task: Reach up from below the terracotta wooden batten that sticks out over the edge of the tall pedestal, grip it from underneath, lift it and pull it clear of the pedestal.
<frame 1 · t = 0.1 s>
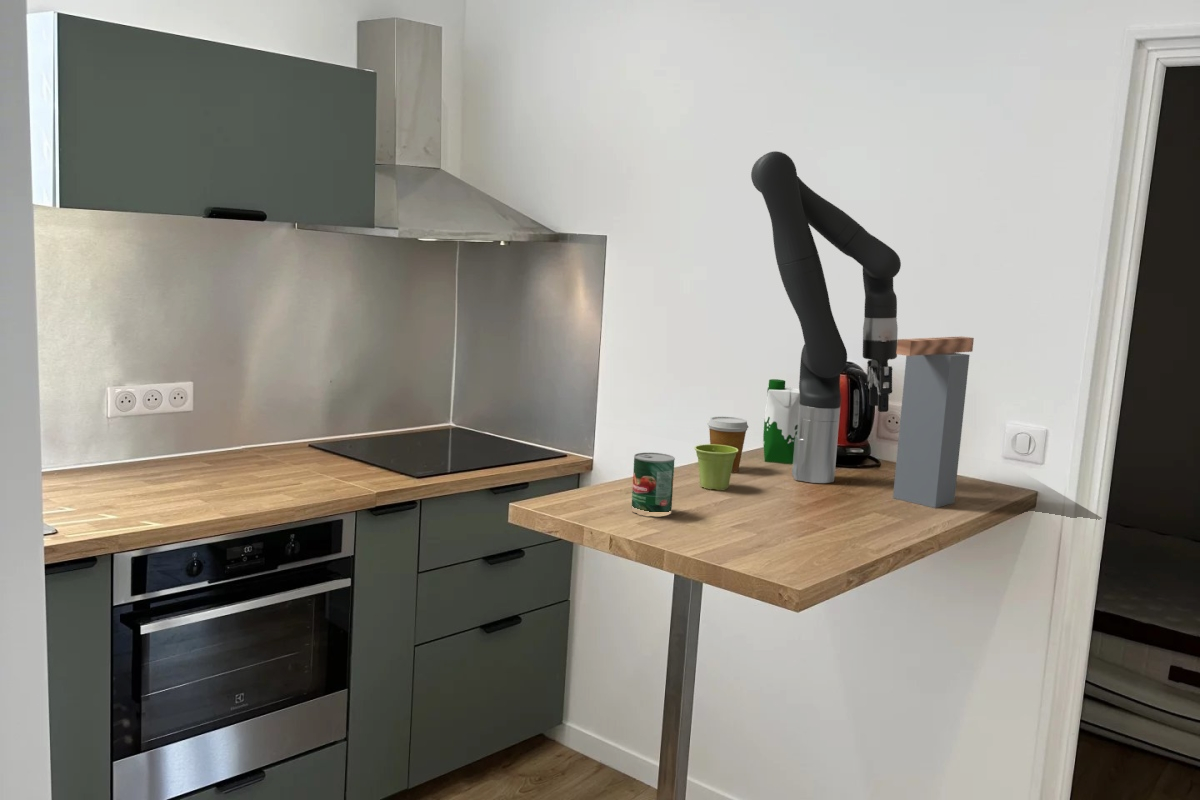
hand: (878, 408, 235), 17 cm above the table, tool pointing down, fingers open, 8 cm apart
plant pot: (713, 488, 225), on the table
disposable coffee cup: (724, 470, 244), on the table
canned tomato: (651, 512, 202), on the table
pedestal: (923, 500, 223), on the table
milk carton: (779, 461, 258), on the table
batten: (935, 352, 217), point 32 cm above the table, touching pedestal
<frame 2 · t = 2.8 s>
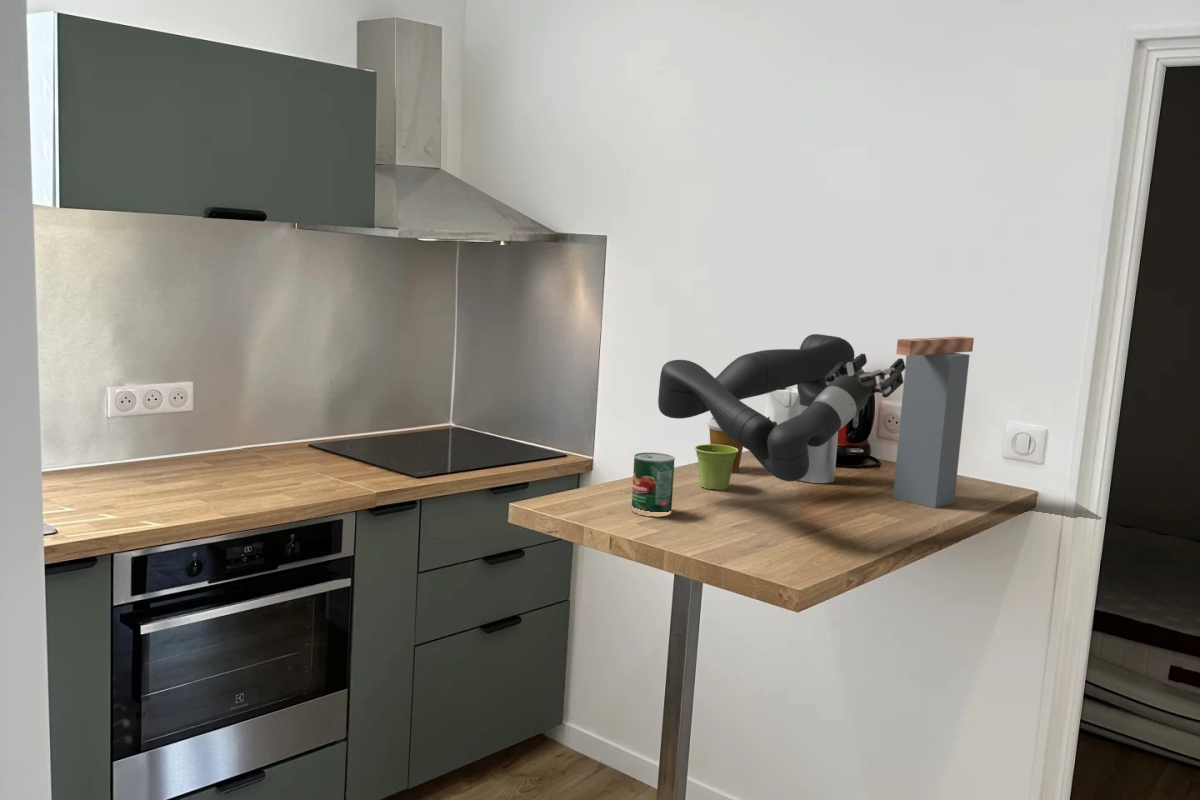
hand: (883, 359, 204), 31 cm above the table, tool pointing upward, fingers open, 8 cm apart
nothing on the table moved.
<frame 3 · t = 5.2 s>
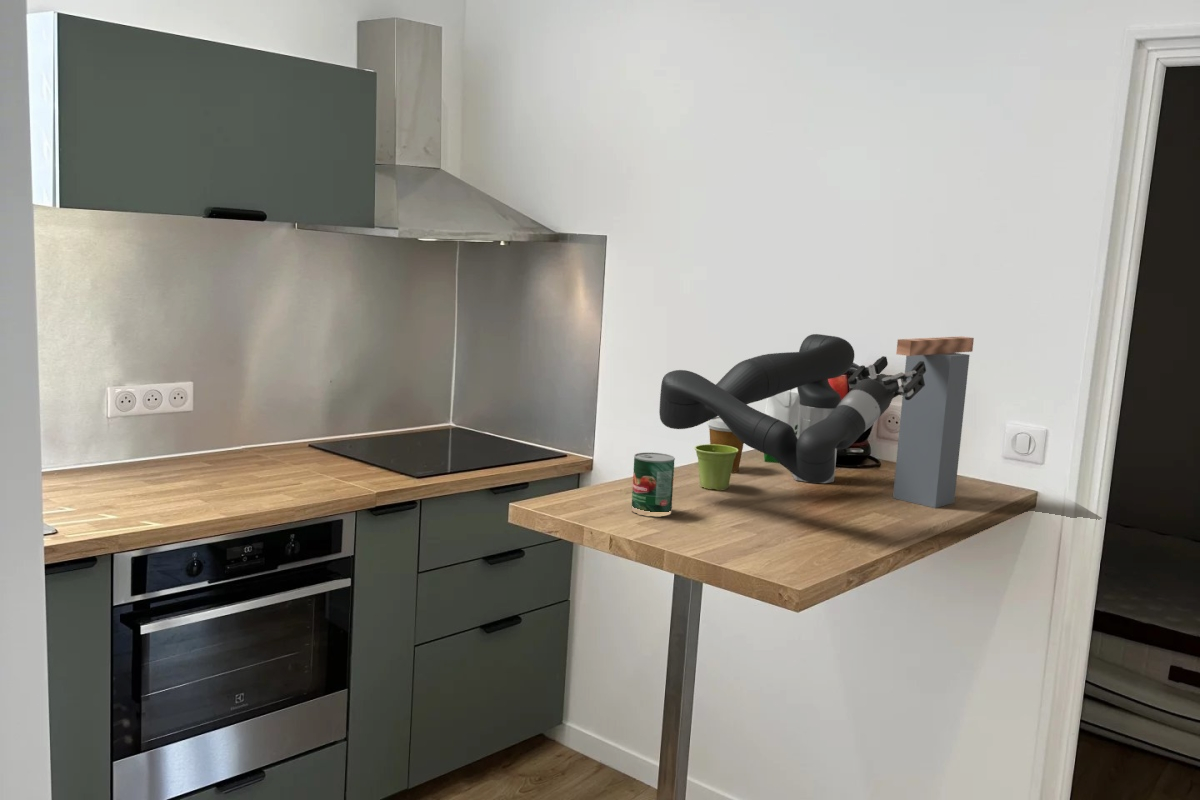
hand: (904, 362, 209), 30 cm above the table, tool pointing upward, fingers open, 8 cm apart
nothing on the table moved.
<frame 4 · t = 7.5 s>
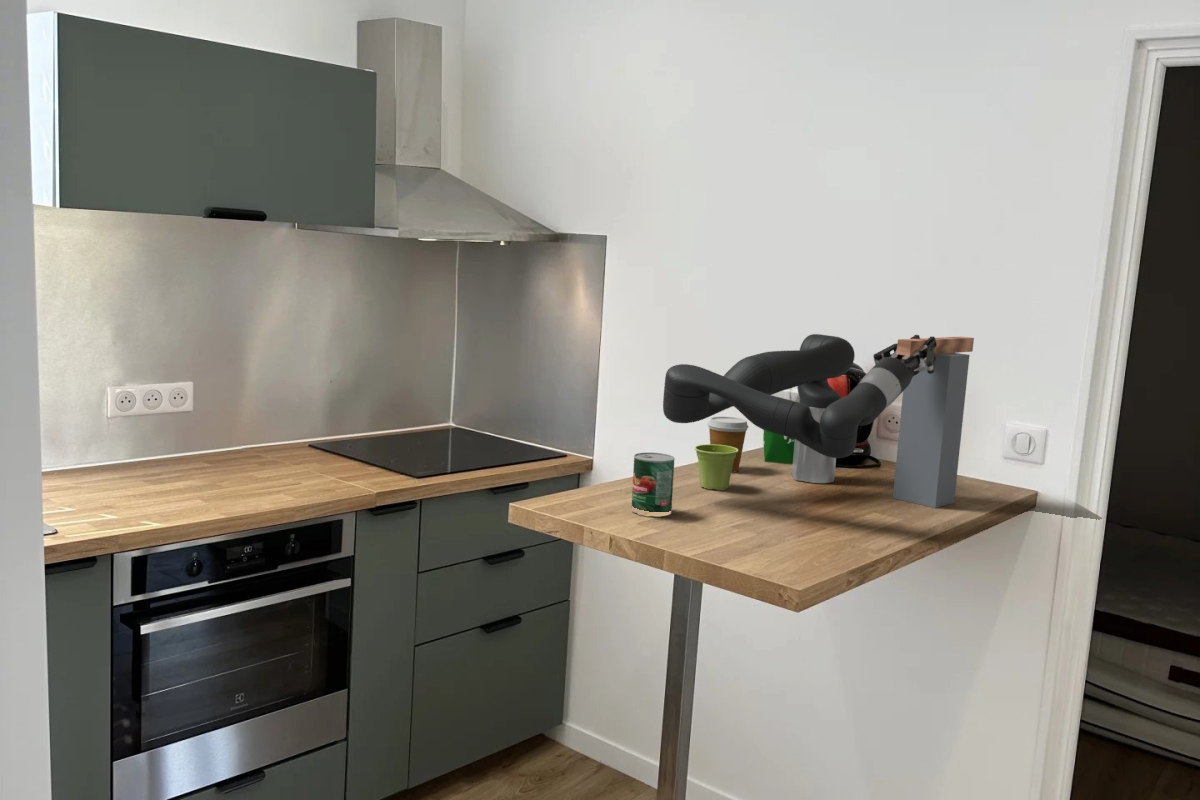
hand: (925, 339, 214), 35 cm above the table, tool pointing upward, fingers closed on batten, 3 cm apart
batten: (935, 352, 217), point 32 cm above the table, touching gripper, pedestal
everything else where it was.
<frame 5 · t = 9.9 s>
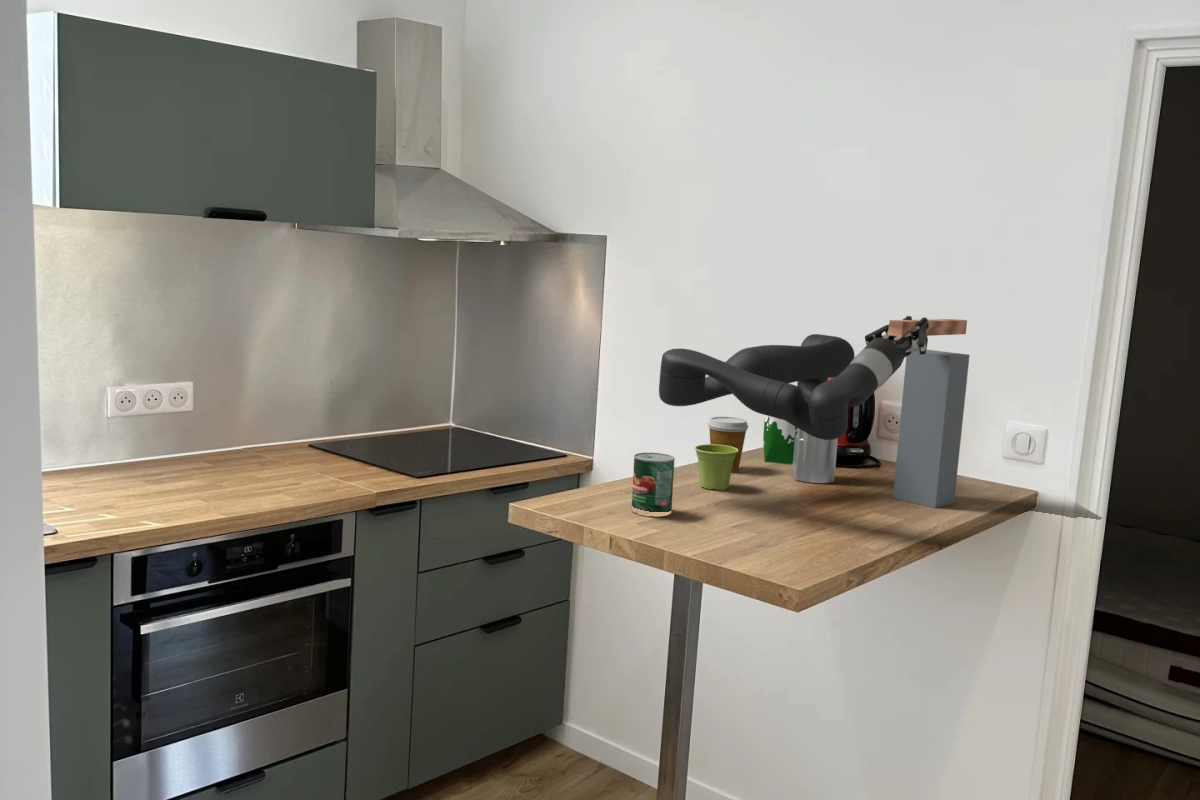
hand: (918, 320, 210), 39 cm above the table, tool pointing upward, fingers closed on batten, 3 cm apart
batten: (928, 334, 214), point 36 cm above the table, touching gripper
everything else where it was.
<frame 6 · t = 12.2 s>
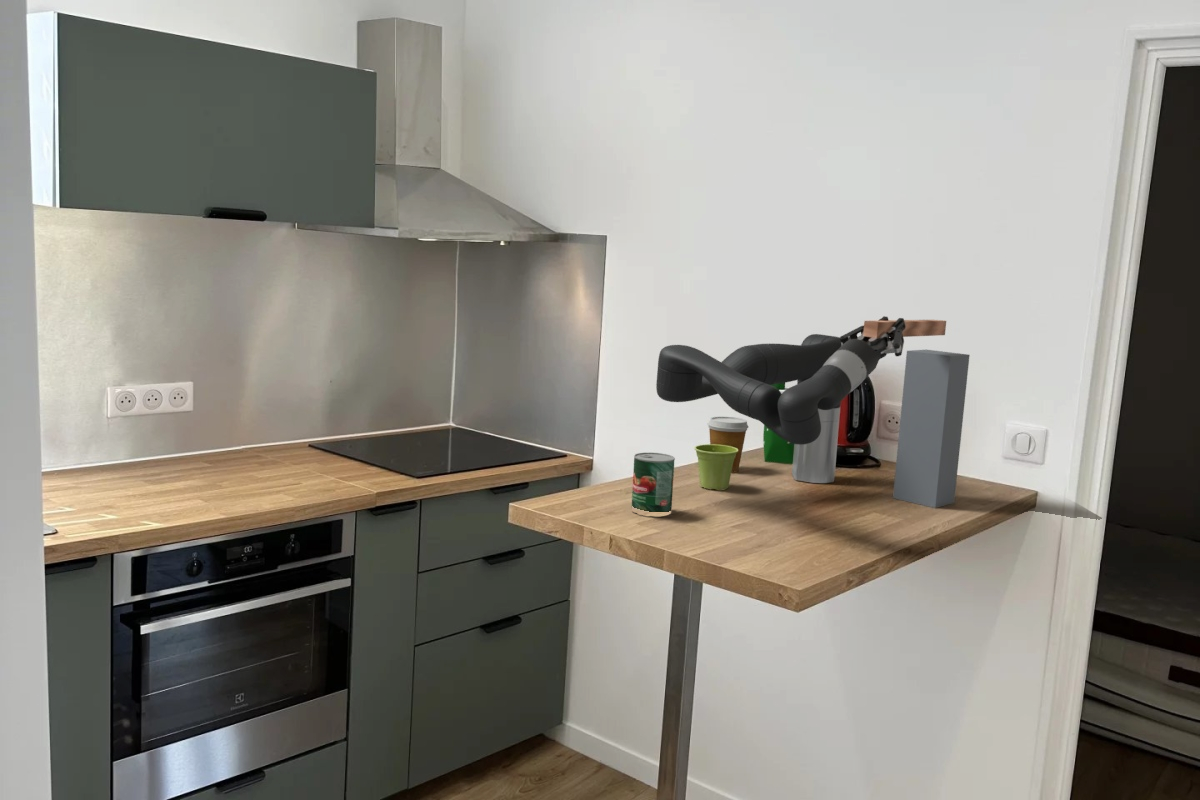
hand: (894, 321, 204), 39 cm above the table, tool pointing upward, fingers closed on batten, 3 cm apart
batten: (905, 335, 208), point 36 cm above the table, touching gripper
everything else where it was.
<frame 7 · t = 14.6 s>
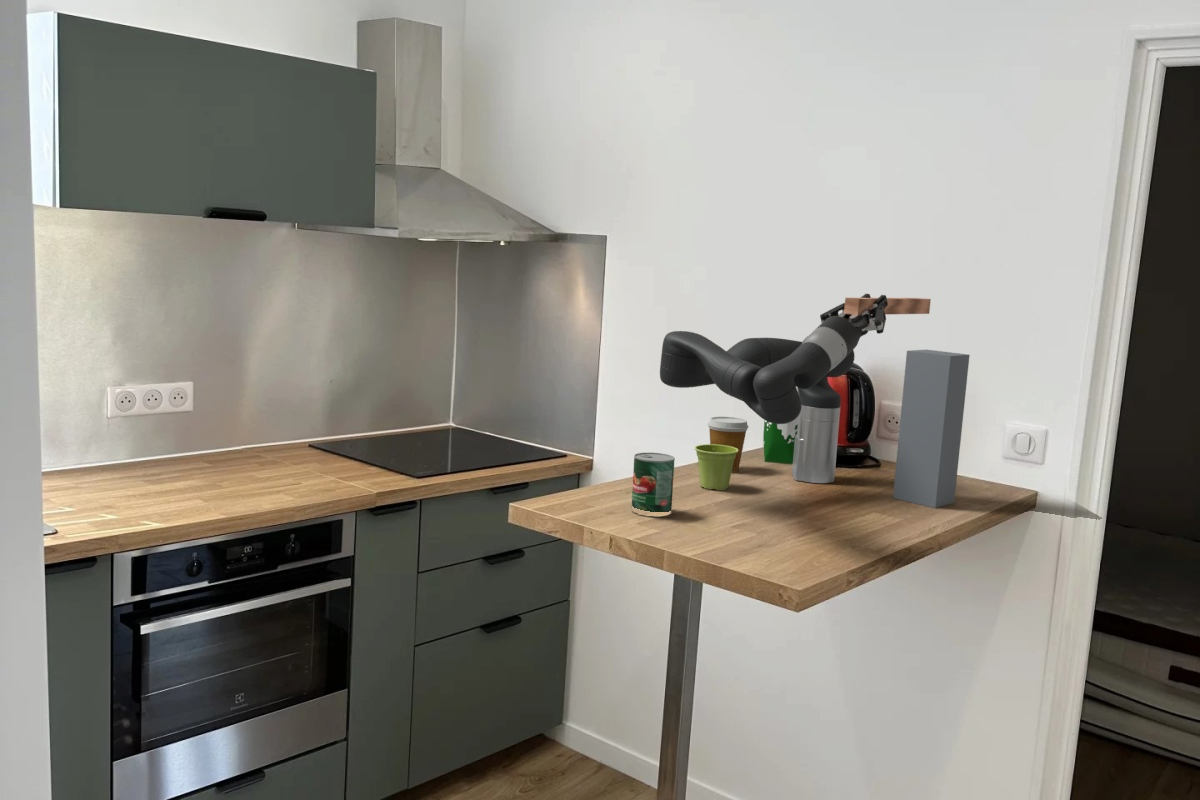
hand: (876, 298, 199), 43 cm above the table, tool pointing upward, fingers closed on batten, 3 cm apart
batten: (888, 313, 202), point 40 cm above the table, touching gripper
everything else where it was.
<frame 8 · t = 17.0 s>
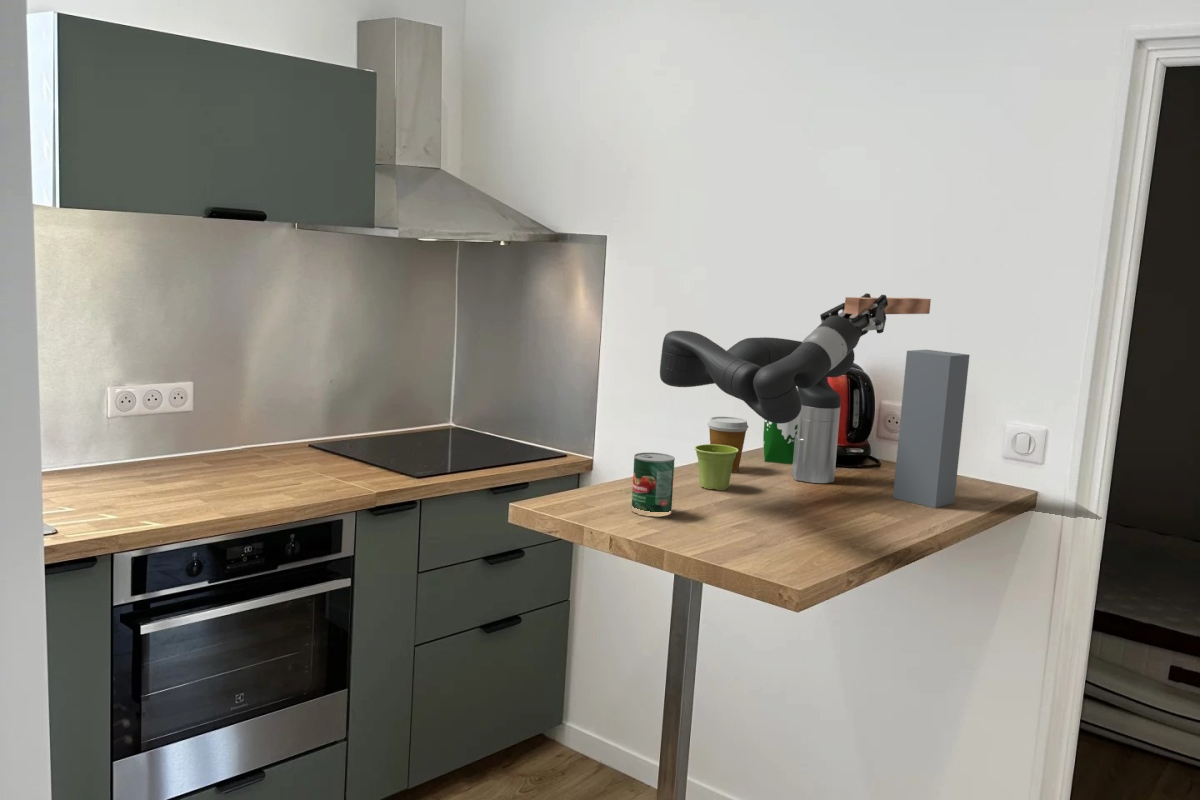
hand: (876, 298, 199), 43 cm above the table, tool pointing upward, fingers closed on batten, 3 cm apart
batten: (888, 313, 203), point 40 cm above the table, touching gripper
everything else where it was.
at the end: the gripper is holding batten; batten moved 21.6 cm from its start; batten touching gripper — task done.
